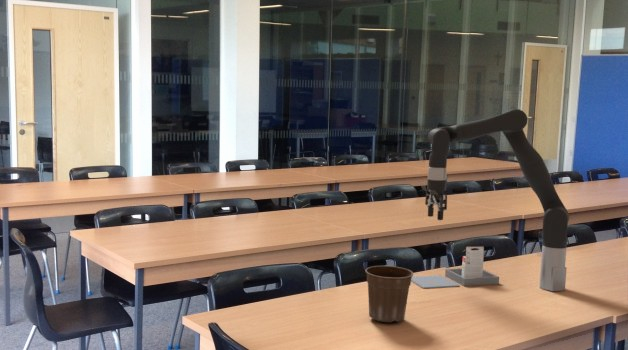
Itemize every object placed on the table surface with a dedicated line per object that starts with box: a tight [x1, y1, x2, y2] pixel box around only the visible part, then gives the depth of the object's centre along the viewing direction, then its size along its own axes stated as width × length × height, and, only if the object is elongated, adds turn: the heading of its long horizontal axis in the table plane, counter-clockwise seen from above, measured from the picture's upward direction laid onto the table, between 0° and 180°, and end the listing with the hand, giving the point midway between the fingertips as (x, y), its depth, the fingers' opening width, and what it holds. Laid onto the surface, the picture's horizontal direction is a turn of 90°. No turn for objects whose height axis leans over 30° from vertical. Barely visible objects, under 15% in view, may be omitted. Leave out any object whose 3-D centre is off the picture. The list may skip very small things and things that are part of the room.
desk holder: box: [444, 267, 500, 287], centre depth 294 cm, size 16×16×3 cm
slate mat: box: [411, 274, 460, 290], centre depth 289 cm, size 16×16×1 cm
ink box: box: [461, 246, 485, 278], centre depth 293 cm, size 4×8×15 cm, turn 97°
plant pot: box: [365, 265, 414, 323], centre depth 241 cm, size 16×16×16 cm
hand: (435, 218), depth 286 cm, fingers open, 8 cm apart
